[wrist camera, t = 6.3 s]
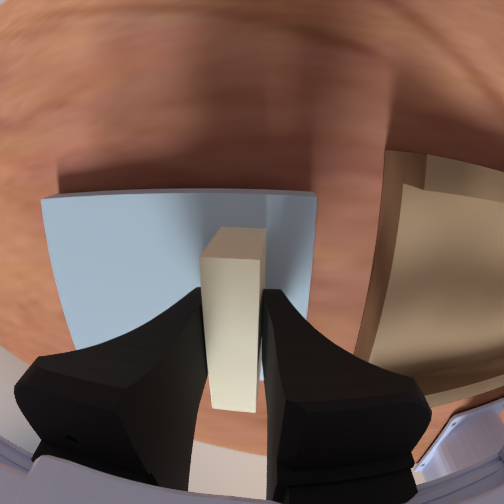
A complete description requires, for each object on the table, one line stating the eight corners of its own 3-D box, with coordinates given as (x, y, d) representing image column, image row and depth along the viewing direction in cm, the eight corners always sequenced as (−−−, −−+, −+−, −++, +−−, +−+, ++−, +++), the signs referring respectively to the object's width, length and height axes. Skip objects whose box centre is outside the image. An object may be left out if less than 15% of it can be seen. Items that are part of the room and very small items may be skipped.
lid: (297, 365, 14) (298, 432, 10) (86, 338, 15) (48, 382, 11) (313, 191, 11) (330, 217, 7) (56, 194, 12) (-6, 215, 8)
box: (508, 346, 15) (532, 373, 12) (348, 373, 15) (363, 419, 12) (552, 190, 11) (589, 203, 8) (385, 149, 11) (427, 154, 8)
